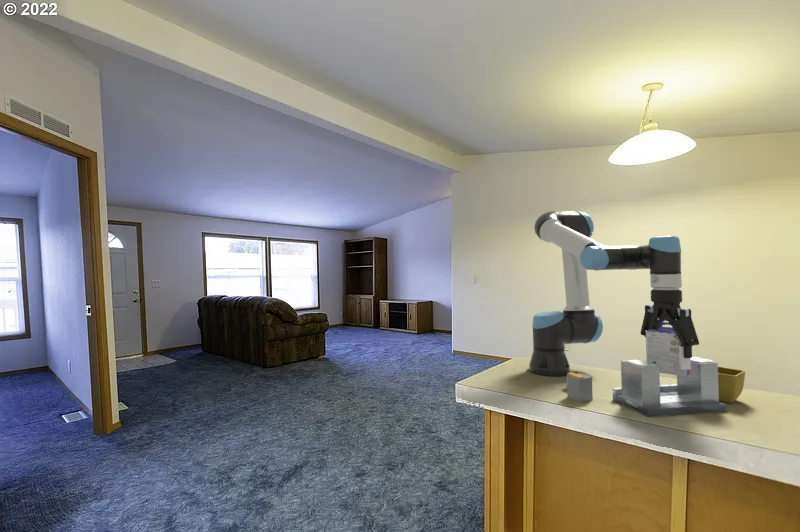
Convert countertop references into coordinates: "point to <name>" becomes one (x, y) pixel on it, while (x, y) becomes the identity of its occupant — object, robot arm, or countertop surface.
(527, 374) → the countertop surface
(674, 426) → the countertop surface
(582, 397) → the block
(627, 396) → the rail board
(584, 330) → the robot arm
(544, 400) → the countertop surface
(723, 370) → the flower pot
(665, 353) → the ink cartridge box
